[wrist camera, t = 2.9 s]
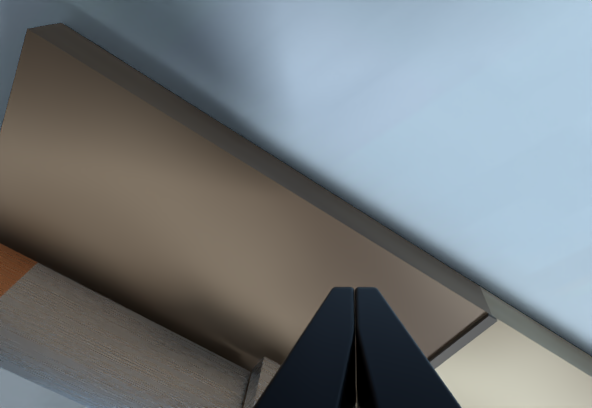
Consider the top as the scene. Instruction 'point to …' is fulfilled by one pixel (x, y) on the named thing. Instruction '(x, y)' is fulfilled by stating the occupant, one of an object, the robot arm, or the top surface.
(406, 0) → the top surface
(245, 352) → the door-edge board
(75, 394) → the swing bar
